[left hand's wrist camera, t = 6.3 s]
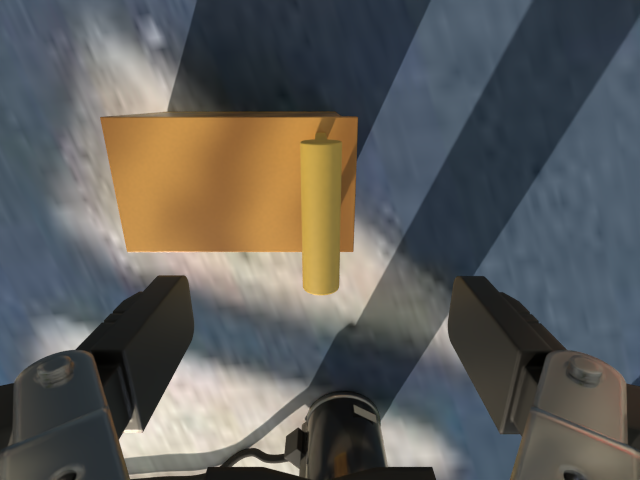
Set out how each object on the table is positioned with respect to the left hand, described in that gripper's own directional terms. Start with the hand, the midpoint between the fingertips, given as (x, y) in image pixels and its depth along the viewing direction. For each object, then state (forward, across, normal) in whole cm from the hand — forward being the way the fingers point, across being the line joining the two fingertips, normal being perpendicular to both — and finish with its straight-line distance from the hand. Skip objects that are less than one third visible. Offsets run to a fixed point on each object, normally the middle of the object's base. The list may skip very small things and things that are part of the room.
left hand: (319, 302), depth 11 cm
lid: (+17, +6, 0) cm, 18 cm away
